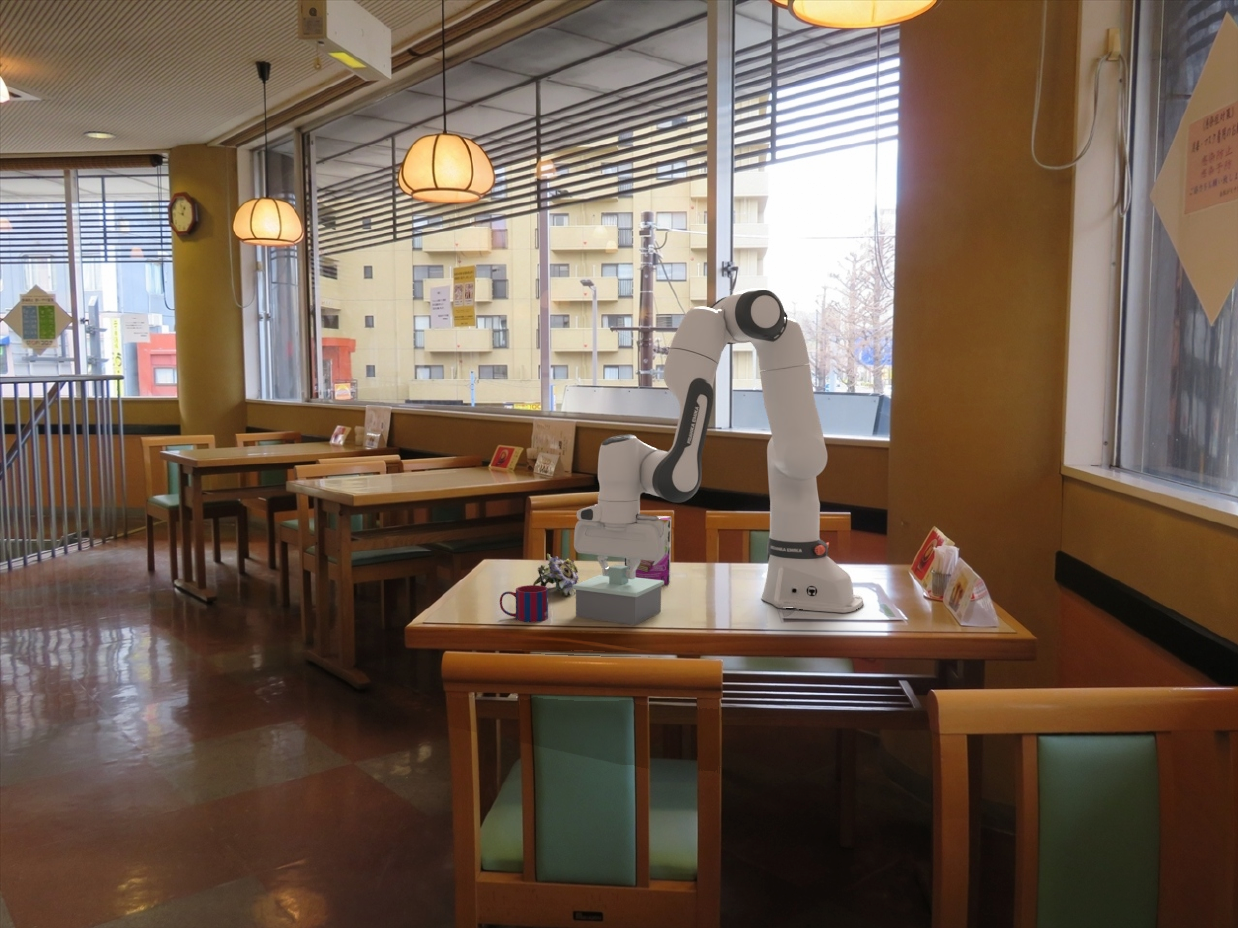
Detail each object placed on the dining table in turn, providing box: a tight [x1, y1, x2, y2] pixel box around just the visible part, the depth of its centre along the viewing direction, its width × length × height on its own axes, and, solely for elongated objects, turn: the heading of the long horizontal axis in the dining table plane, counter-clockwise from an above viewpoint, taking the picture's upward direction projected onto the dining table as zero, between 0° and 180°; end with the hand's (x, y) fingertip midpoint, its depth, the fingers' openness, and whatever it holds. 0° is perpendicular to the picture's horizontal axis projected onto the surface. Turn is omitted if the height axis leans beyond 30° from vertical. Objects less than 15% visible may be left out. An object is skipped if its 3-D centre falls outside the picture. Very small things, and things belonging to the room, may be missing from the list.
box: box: [575, 586, 662, 626], centre depth 201 cm, size 14×12×6 cm
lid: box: [573, 564, 665, 597], centre depth 200 cm, size 15×13×6 cm
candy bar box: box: [624, 515, 672, 586], centre depth 233 cm, size 11×5×16 cm, turn 84°
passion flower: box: [532, 553, 579, 598], centre depth 220 cm, size 11×11×12 cm
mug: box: [499, 584, 549, 623], centre depth 198 cm, size 7×10×7 cm
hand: (618, 577), depth 200 cm, fingers open, 4 cm apart
